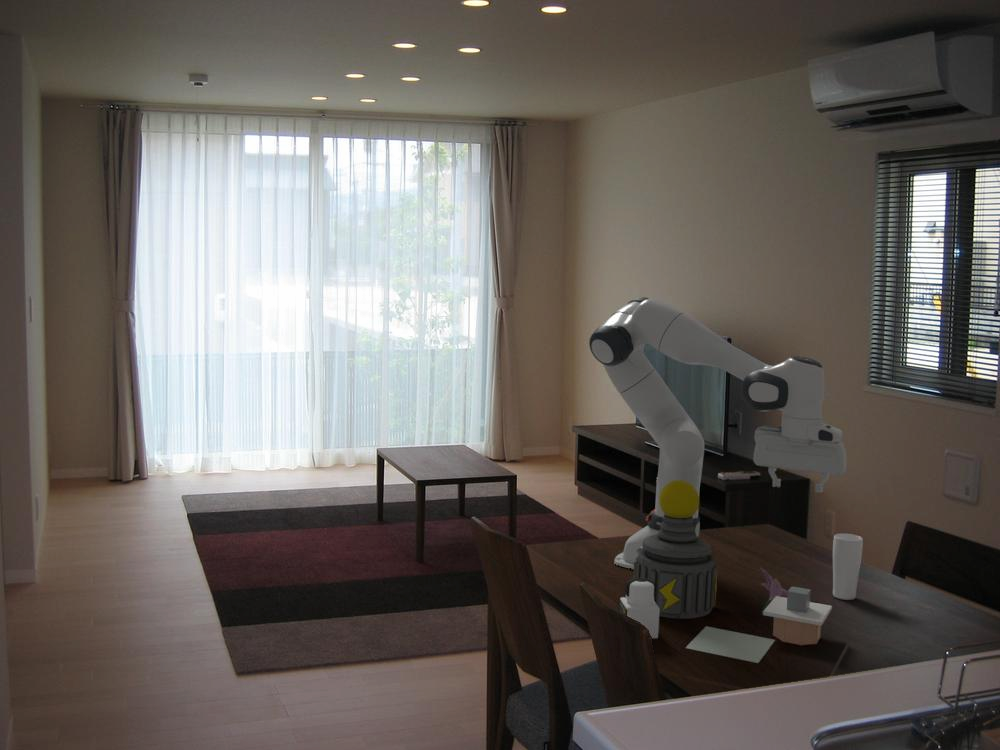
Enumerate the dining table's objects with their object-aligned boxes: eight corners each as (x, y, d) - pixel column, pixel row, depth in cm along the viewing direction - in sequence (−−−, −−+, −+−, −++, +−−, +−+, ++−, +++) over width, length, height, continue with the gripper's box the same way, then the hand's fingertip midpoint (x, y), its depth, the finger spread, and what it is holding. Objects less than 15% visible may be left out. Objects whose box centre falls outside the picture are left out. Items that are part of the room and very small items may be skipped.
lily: (796, 629, 234) (813, 589, 235) (748, 605, 235) (765, 566, 237) (783, 627, 246) (799, 590, 247) (737, 604, 247) (753, 567, 248)
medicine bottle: (618, 628, 227) (620, 574, 226) (650, 628, 228) (653, 575, 226) (624, 640, 220) (627, 585, 218) (658, 640, 220) (661, 585, 219)
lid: (762, 614, 221) (764, 592, 220) (775, 599, 232) (777, 578, 231) (821, 625, 216) (823, 603, 215) (831, 609, 226) (833, 587, 226)
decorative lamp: (717, 600, 248) (725, 476, 245) (711, 626, 230) (719, 492, 227) (638, 591, 253) (644, 469, 250) (626, 616, 235) (632, 485, 232)
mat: (685, 650, 215) (685, 647, 215) (705, 628, 229) (706, 626, 229) (758, 665, 209) (758, 662, 208) (775, 642, 222) (775, 639, 222)
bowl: (769, 641, 222) (771, 614, 222) (779, 628, 230) (780, 602, 230) (814, 650, 218) (816, 622, 217) (822, 636, 226) (824, 610, 226)
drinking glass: (860, 603, 250) (865, 541, 249) (830, 600, 252) (835, 539, 250) (856, 594, 257) (861, 534, 255) (827, 591, 258) (832, 532, 257)
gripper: (751, 426, 238) (748, 486, 239) (845, 435, 229) (840, 498, 230) (758, 422, 243) (754, 481, 245) (850, 432, 234) (845, 492, 236)
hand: (797, 489), depth 237 cm, fingers open, 8 cm apart
